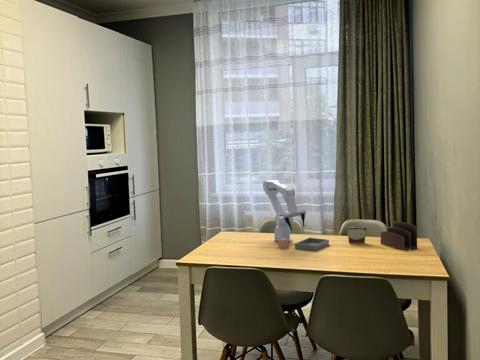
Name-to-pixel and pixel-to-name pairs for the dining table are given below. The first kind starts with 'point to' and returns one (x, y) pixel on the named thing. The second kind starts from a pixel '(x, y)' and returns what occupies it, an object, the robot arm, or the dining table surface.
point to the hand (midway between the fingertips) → (297, 228)
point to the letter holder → (400, 236)
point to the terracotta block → (282, 243)
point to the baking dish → (311, 244)
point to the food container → (356, 234)
